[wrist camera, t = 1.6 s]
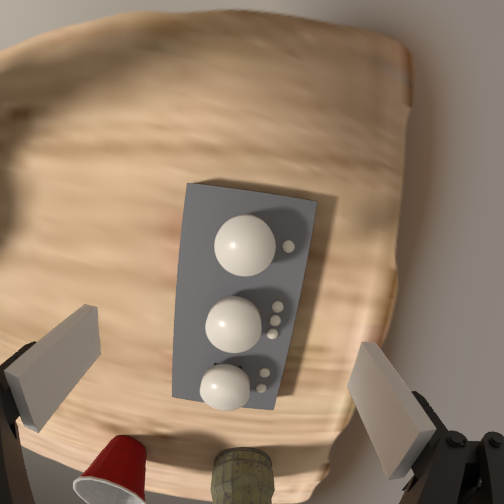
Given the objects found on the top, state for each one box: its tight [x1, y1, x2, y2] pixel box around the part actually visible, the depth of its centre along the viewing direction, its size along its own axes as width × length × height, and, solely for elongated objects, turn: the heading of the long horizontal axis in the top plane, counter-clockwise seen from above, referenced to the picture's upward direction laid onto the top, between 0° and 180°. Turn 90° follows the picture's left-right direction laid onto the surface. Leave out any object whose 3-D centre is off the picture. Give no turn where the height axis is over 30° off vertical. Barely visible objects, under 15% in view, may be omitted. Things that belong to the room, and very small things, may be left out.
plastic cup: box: [73, 435, 146, 504], centre depth 31 cm, size 11×11×12 cm
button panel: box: [172, 183, 317, 410], centre depth 31 cm, size 12×24×3 cm, turn 172°
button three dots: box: [205, 296, 262, 353], centre depth 28 cm, size 5×5×4 cm
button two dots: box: [200, 363, 250, 411], centre depth 30 cm, size 5×5×4 cm
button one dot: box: [214, 214, 276, 276], centre depth 27 cm, size 5×5×4 cm
